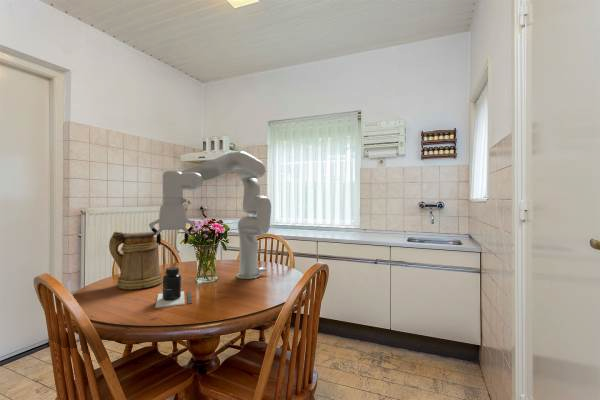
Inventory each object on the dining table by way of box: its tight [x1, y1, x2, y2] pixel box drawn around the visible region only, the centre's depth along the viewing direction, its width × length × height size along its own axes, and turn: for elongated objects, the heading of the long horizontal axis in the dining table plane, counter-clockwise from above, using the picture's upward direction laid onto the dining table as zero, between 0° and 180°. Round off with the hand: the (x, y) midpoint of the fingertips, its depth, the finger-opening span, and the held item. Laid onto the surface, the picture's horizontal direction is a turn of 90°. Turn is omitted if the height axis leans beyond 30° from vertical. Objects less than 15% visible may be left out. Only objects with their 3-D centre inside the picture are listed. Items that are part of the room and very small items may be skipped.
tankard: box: [108, 231, 163, 290], centre depth 139 cm, size 18×24×25 cm
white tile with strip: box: [155, 290, 193, 309], centre depth 119 cm, size 13×16×1 cm
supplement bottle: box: [162, 266, 182, 301], centre depth 119 cm, size 7×7×12 cm
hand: (172, 243), depth 120 cm, fingers open, 9 cm apart
